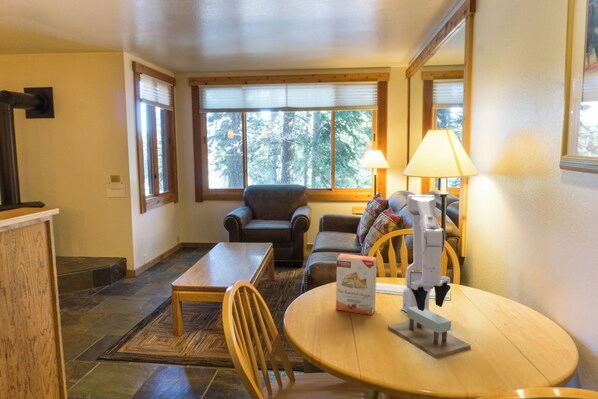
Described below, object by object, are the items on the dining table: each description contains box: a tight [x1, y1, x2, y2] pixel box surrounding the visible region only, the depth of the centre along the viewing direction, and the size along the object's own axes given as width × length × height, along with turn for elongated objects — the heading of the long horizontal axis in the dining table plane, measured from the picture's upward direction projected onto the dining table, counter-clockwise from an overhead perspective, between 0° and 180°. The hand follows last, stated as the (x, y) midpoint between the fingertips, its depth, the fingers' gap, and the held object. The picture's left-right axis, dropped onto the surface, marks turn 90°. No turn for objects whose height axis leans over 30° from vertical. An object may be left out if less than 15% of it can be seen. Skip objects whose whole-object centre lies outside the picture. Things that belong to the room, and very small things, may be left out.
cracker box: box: [335, 253, 378, 316], centre depth 150 cm, size 14×6×21 cm, turn 68°
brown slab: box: [387, 317, 472, 359], centre depth 128 cm, size 22×14×5 cm, turn 26°
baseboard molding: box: [376, 280, 451, 302], centre depth 170 cm, size 31×3×12 cm
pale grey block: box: [406, 306, 452, 334], centre depth 128 cm, size 14×5×3 cm, turn 26°
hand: (429, 307), depth 128 cm, fingers open, 7 cm apart
